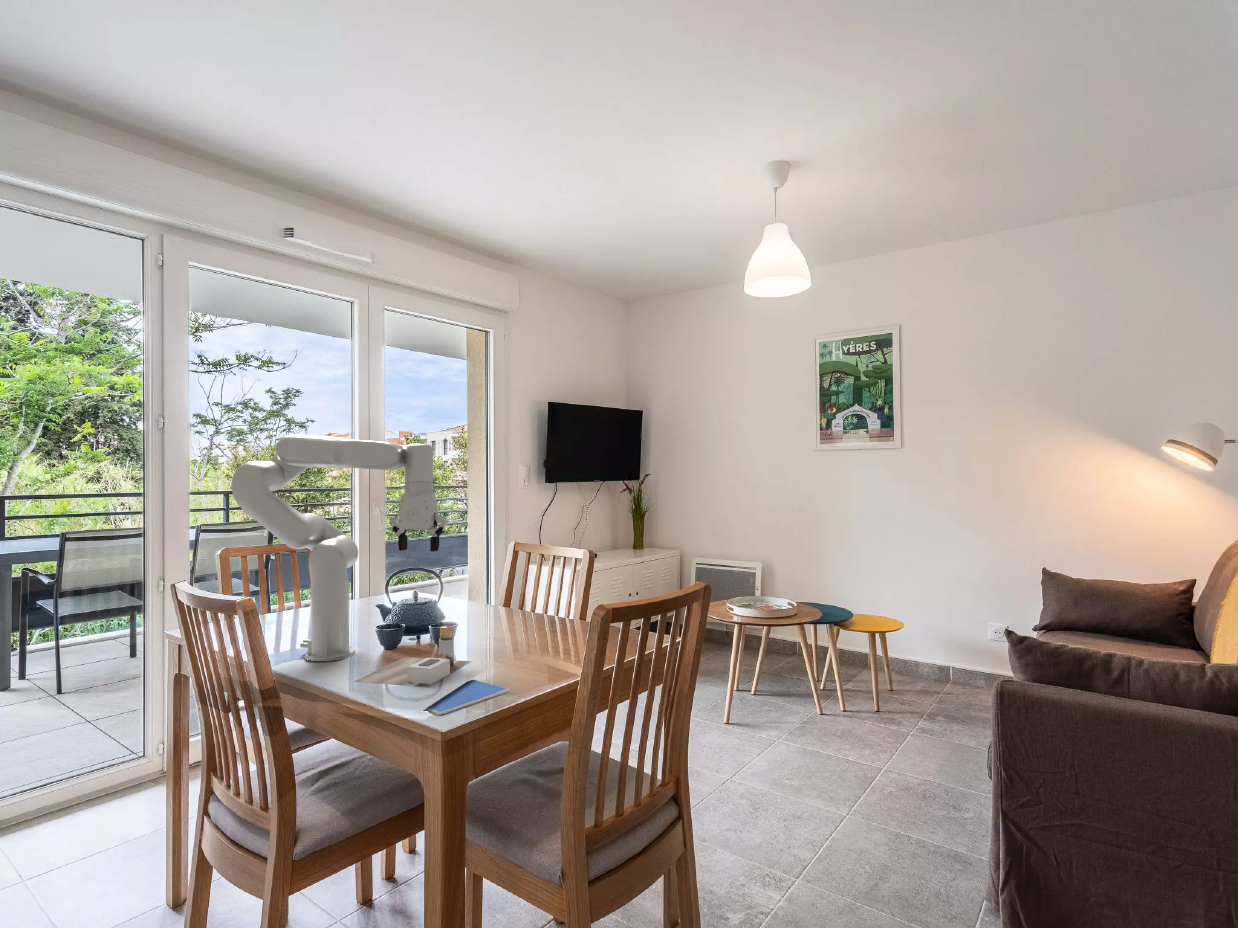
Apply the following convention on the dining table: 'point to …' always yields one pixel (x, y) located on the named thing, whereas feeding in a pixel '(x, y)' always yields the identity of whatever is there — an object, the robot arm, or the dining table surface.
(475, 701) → the tablet computer
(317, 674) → the dining table surface
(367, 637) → the dining table surface
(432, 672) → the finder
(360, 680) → the beige flat panel
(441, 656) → the glass spice jar
